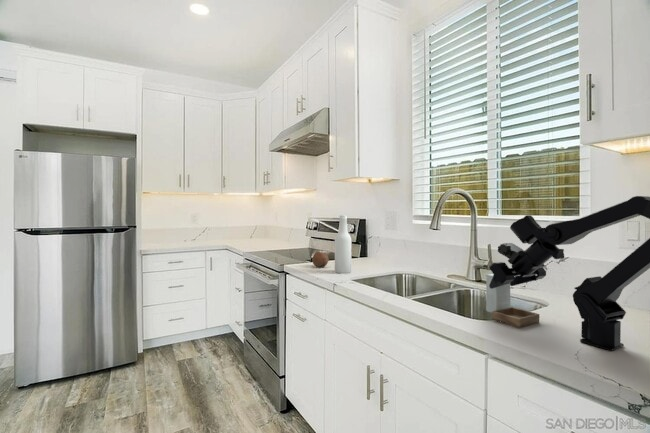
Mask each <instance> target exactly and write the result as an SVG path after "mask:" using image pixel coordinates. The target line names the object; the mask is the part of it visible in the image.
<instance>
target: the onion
mask: <svg viewBox="0 0 650 433" xmlns="http://www.w3.org/2000/svg"><path fill="white" fill-rule="evenodd" d="M311 261H312V264H313V265H314V266H315V267H316V268H321V267H322V268H326V266H327V264H329V256H328V254H327V253H326V252H323V251H316V252H315V253H314V254H313V256H312V259H311Z"/></svg>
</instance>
